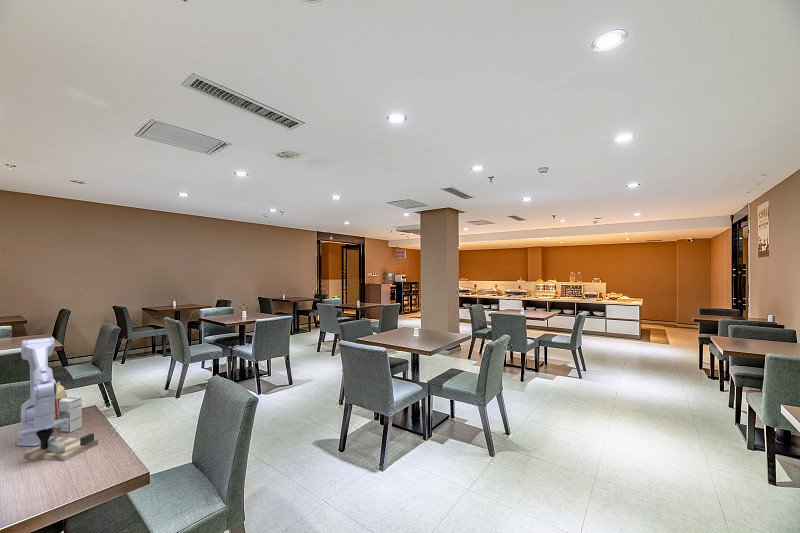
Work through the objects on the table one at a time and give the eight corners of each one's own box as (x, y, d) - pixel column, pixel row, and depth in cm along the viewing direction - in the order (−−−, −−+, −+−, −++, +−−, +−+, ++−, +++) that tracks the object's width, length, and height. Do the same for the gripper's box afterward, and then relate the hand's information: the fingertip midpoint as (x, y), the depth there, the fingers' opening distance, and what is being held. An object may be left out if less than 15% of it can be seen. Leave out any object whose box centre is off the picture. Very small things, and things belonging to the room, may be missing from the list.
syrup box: (82, 427, 168) (82, 396, 168) (69, 432, 162) (69, 400, 162) (71, 426, 168) (71, 395, 168) (58, 432, 162) (58, 400, 162)
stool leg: (66, 450, 141) (66, 442, 141) (58, 453, 138) (59, 445, 139) (47, 445, 145) (47, 437, 145) (39, 448, 143) (39, 439, 143)
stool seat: (23, 458, 140) (23, 445, 140) (60, 441, 153) (60, 430, 153) (64, 460, 138) (64, 447, 138) (98, 443, 151) (98, 432, 151)
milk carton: (52, 422, 173) (53, 380, 174) (73, 421, 174) (73, 380, 175) (35, 430, 164) (35, 386, 165) (56, 429, 165) (57, 386, 165)
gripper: (23, 422, 133) (23, 459, 132) (72, 409, 146) (72, 442, 145) (15, 419, 136) (15, 455, 136) (64, 406, 149) (64, 439, 149)
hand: (44, 448), depth 141 cm, fingers closed, pressing on stool leg
